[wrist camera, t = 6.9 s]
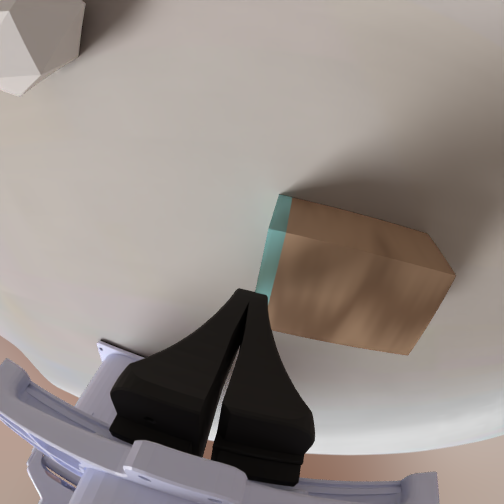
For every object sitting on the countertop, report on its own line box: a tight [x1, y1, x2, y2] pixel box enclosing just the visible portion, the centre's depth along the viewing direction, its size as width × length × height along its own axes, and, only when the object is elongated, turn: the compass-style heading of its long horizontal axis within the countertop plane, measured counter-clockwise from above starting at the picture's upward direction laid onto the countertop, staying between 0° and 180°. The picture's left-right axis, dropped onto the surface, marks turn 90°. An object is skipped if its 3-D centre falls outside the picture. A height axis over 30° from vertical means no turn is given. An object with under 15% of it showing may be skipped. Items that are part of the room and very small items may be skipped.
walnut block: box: [255, 194, 456, 355], centre depth 17 cm, size 6×5×10 cm
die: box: [0, 0, 86, 97], centre depth 11 cm, size 8×9×10 cm
